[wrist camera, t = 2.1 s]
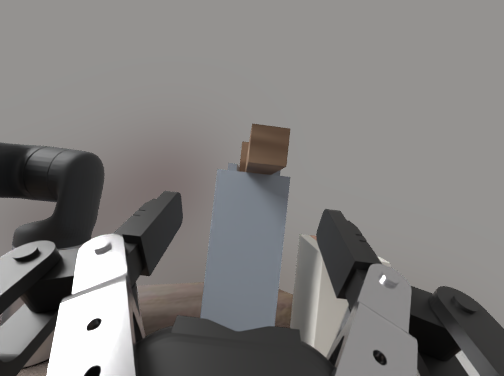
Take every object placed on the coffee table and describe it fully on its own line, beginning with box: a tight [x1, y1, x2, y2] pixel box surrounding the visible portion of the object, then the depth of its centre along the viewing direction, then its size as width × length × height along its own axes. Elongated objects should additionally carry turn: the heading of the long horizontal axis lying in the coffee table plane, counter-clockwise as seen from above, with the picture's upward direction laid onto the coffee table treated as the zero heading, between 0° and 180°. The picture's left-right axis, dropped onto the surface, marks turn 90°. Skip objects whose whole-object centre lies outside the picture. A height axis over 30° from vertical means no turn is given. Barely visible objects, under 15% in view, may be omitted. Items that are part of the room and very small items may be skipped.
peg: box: [239, 124, 290, 175], centre depth 27 cm, size 20×6×6 cm, turn 3°
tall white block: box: [290, 234, 390, 357], centre depth 31 cm, size 13×9×22 cm
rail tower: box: [200, 163, 290, 331], centre depth 32 cm, size 13×10×33 cm
